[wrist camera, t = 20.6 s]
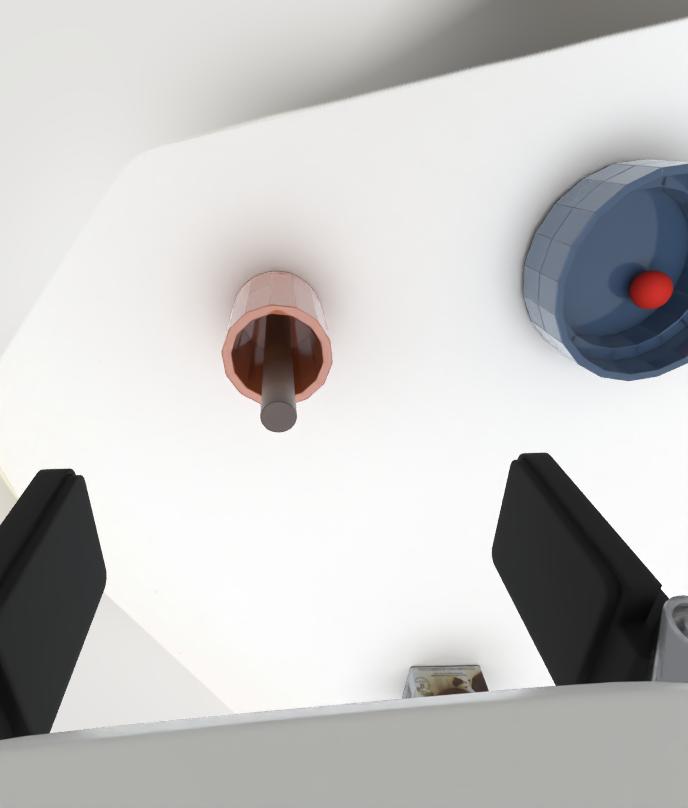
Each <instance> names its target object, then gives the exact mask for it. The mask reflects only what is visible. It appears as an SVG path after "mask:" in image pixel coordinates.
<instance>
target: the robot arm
mask: <svg viewBox="0 0 688 808" xmlns="http://www.w3.org/2000/svg"><path fill="white" fill-rule="evenodd" d="M492 558H493V562H494V565H495V567H496V569H497V571H498V573H499V575H500V577H501V579H502V581H503V583H504V585H505V587H506V589H507V591H508V593H509V595H510V596H511V598H512V600H513V602H514V604H515V606H516V608H517V610H518V612H519V614H520V616H521V618H522V620H523V622H524V624H525V626H526V628H527V630H528V632H529V634H530V636H531V638H532V640H533V642H534V644H535V646H536V648H537V649H538V651H539V653H540V655H541V657H542V659H543V661H544V663H545V665H546V667H547V669H548V671H549V673H550V675H551V677H552V679H553V681H554V683H555V685H556V686H549V687H535V688H523V689H512V690H500V691H488V692H477V693H465V694H453V695H441V696H430V697H418V698H407V699H396V700H385V701H374V702H362V703H351V704H340V705H329V706H319V707H308V708H297V709H286V710H275V711H264V712H254V713H243V714H233V715H223V716H214V717H202V718H192V719H181V720H171V721H161V722H151V723H141V724H130V725H120V726H111V727H102V728H93V729H84V730H76V731H67V732H58V733H50V731H51V728H52V725H53V722H54V720H55V717H56V715H57V712H58V709H59V707H60V704H61V702H62V699H63V696H64V694H65V691H66V688H67V686H68V683H69V681H70V678H71V675H72V673H73V670H74V667H75V665H76V662H77V660H78V657H79V654H80V651H81V649H82V646H83V644H84V641H85V639H86V636H87V633H88V631H89V628H90V625H91V623H92V620H93V617H94V615H95V612H96V609H97V607H98V604H99V602H100V599H101V596H102V594H103V591H104V588H105V585H106V568H105V564H104V559H103V555H102V551H101V547H100V542H99V538H98V534H97V530H96V525H95V521H94V517H93V513H92V508H91V504H90V500H89V496H88V491H87V487H86V483H85V480H84V477H83V476H81V475H76V474H75V472H74V471H73V470H72V469H45V470H40V471H39V472H38V473H37V474H36V476H35V477H34V478H33V480H32V481H31V483H30V484H29V485H28V487H27V488H26V490H25V491H24V493H23V494H22V495H21V497H20V498H19V500H18V501H17V503H16V504H15V505H14V507H13V508H12V510H11V511H10V512H9V514H8V515H7V516H6V518H5V519H4V521H3V522H2V524H1V525H0V808H688V596H684V595H683V596H676V597H672V598H670V599H669V598H668V597H667V596H666V595H665V593H664V592H663V591H662V590H661V586H662V585H661V584H660V582H659V581H658V580H657V579H656V578H655V577H654V575H653V574H652V573H651V572H650V571H649V570H648V569H647V567H646V566H645V565H644V564H643V563H642V562H641V560H640V559H639V558H638V557H637V556H636V555H635V553H634V552H633V551H632V550H631V549H630V548H629V546H628V545H627V544H626V543H625V542H624V541H623V539H622V538H621V537H620V536H619V535H618V534H617V532H616V531H615V530H614V529H613V528H612V527H611V525H610V524H609V523H608V522H607V521H606V520H605V518H604V517H603V516H602V515H601V514H600V513H599V512H598V510H597V509H596V508H595V507H594V506H593V505H592V503H591V502H590V501H589V500H588V499H587V498H586V496H585V495H584V494H583V493H582V492H581V491H580V489H579V488H578V487H577V486H576V485H575V484H574V482H573V481H572V480H571V479H570V478H569V477H568V475H567V474H566V473H565V472H564V471H563V470H562V468H561V467H560V466H559V465H558V464H557V463H556V461H555V460H554V459H553V458H552V457H551V456H550V455H549V454H548V453H523V454H521V455H520V456H519V457H518V460H514V461H512V463H511V466H510V470H509V474H508V479H507V483H506V488H505V492H504V497H503V501H502V506H501V510H500V515H499V519H498V524H497V528H496V533H495V538H494V542H493V547H492Z"/></svg>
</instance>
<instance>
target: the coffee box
mask: <svg viewBox="0 0 688 808" xmlns="http://www.w3.org/2000/svg"><path fill="white" fill-rule="evenodd" d="M488 691H489V690H488V688H487V685H486V682H485V680H484V677H483V674H482V671H481V669H480V667H479V666H453V667H411V669H410V673H409V676H408V680H407V683H406V686H405V690H404V694H403V697H402V698H403V699H407V698H418V697H430V696H441V695H453V694H465V693H477V692H488Z"/></svg>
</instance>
